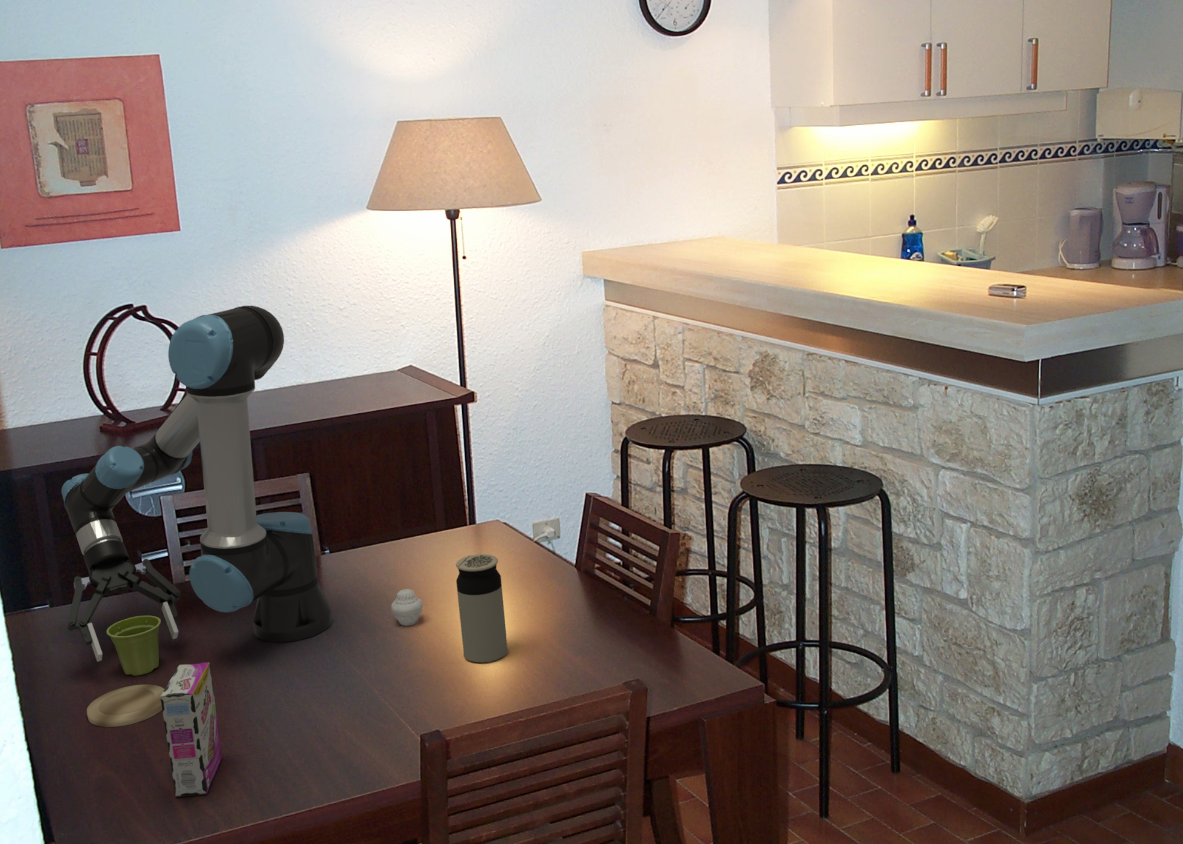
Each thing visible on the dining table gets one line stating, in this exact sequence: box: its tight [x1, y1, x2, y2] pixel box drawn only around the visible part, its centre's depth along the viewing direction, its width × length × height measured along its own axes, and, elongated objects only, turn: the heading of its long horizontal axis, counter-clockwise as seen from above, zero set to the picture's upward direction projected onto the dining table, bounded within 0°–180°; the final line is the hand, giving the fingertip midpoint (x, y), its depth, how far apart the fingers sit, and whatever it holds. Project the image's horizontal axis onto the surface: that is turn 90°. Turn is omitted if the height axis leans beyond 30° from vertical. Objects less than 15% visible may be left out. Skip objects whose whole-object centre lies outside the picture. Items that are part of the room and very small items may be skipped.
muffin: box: [390, 588, 424, 627], centre depth 233 cm, size 6×6×7 cm
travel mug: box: [455, 553, 509, 663], centre depth 215 cm, size 8×8×18 cm
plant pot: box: [106, 615, 162, 677], centre depth 220 cm, size 9×9×9 cm
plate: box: [86, 684, 165, 728], centre depth 205 cm, size 13×13×1 cm
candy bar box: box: [160, 661, 223, 798], centre depth 179 cm, size 11×5×16 cm, turn 5°
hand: (138, 646), depth 218 cm, fingers open, 13 cm apart
